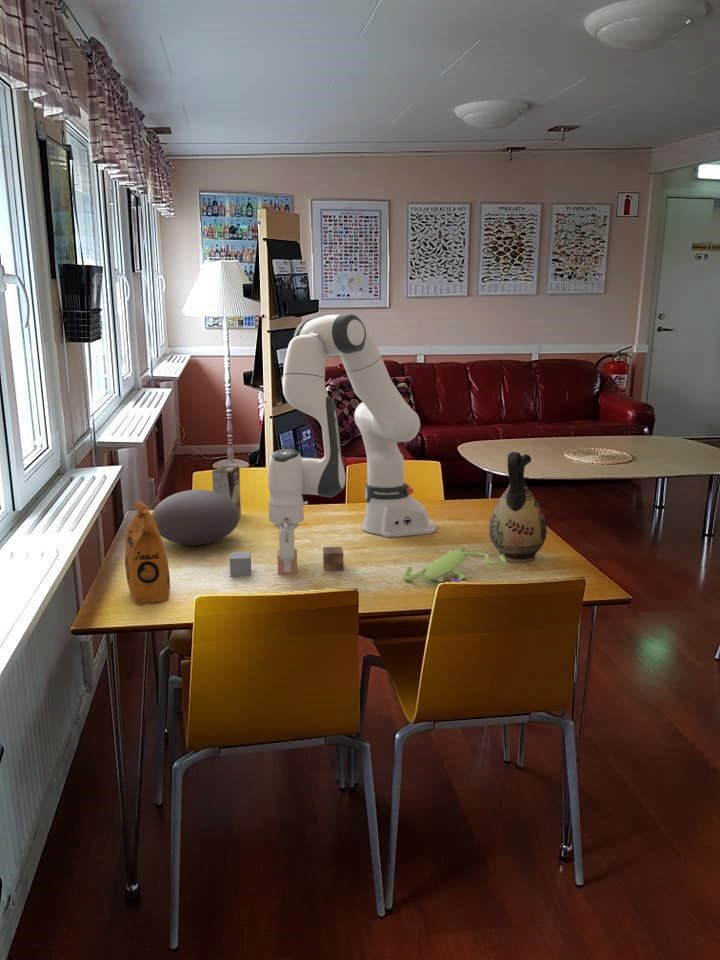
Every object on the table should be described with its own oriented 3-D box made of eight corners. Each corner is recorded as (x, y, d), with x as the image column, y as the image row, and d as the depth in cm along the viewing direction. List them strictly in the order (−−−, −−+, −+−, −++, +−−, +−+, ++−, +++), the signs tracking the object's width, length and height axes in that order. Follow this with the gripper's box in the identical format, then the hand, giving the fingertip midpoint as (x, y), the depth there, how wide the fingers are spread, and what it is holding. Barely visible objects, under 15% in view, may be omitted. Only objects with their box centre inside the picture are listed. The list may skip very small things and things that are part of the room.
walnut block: (342, 564, 203) (342, 546, 202) (343, 571, 198) (343, 552, 197) (323, 564, 202) (323, 547, 201) (324, 571, 198) (324, 553, 196)
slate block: (251, 569, 199) (250, 551, 198) (250, 576, 194) (249, 558, 193) (231, 570, 198) (231, 552, 197) (230, 577, 193) (229, 558, 192)
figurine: (515, 573, 197) (516, 554, 196) (449, 599, 180) (449, 578, 179) (461, 556, 210) (462, 537, 209) (395, 579, 193) (395, 558, 192)
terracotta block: (297, 567, 201) (296, 549, 200) (297, 573, 196) (297, 555, 195) (278, 567, 200) (277, 549, 199) (277, 574, 196) (277, 556, 194)
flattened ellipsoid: (241, 553, 211) (239, 501, 207) (148, 557, 207) (145, 505, 203) (240, 526, 235) (238, 480, 231) (157, 530, 231) (154, 483, 227)
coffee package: (127, 607, 174) (120, 515, 169) (127, 588, 186) (120, 501, 181) (172, 602, 177) (166, 512, 172) (168, 583, 189) (163, 498, 183)
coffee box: (233, 521, 240) (231, 472, 236) (213, 521, 241) (211, 471, 237) (241, 513, 249) (239, 465, 245) (222, 512, 250) (220, 465, 246)
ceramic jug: (497, 545, 219) (502, 442, 211) (550, 553, 212) (557, 448, 205) (477, 563, 204) (482, 453, 197) (534, 572, 197) (541, 460, 190)
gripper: (299, 525, 185) (300, 578, 188) (298, 502, 205) (298, 551, 208) (273, 525, 184) (274, 579, 187) (274, 503, 204) (275, 551, 207)
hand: (287, 564), depth 198 cm, fingers open, 8 cm apart
